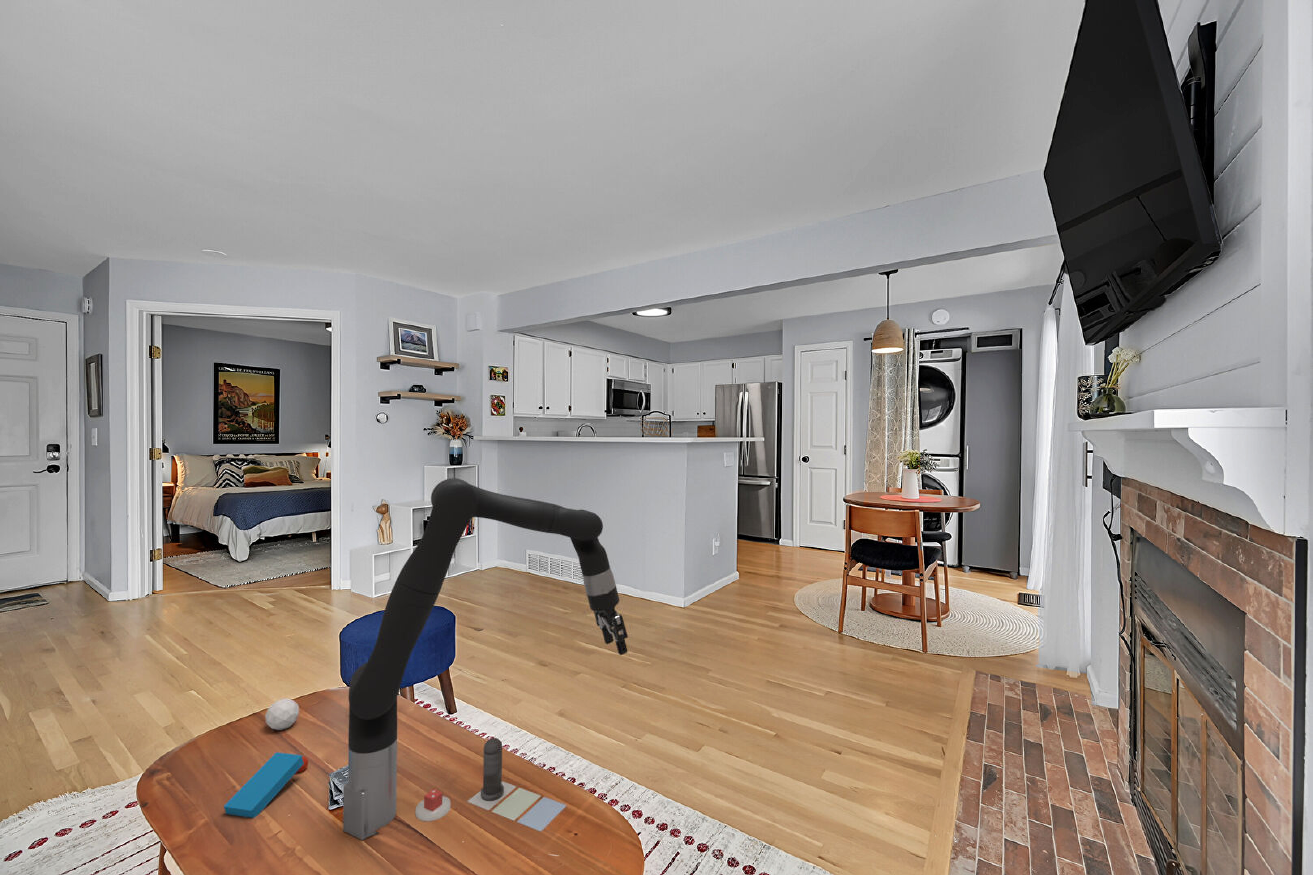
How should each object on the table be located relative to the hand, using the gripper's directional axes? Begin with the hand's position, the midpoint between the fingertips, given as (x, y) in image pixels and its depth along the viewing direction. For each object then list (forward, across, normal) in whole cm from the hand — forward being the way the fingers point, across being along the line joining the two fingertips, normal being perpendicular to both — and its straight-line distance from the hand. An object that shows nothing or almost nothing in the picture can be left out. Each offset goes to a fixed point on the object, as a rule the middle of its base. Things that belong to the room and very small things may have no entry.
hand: (616, 647), depth 144 cm
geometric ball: (+6, -56, -80) cm, 98 cm away
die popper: (+16, 0, -49) cm, 52 cm away
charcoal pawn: (+18, 0, -37) cm, 41 cm away
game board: (+21, +6, -33) cm, 40 cm away
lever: (+8, -25, -80) cm, 84 cm away
